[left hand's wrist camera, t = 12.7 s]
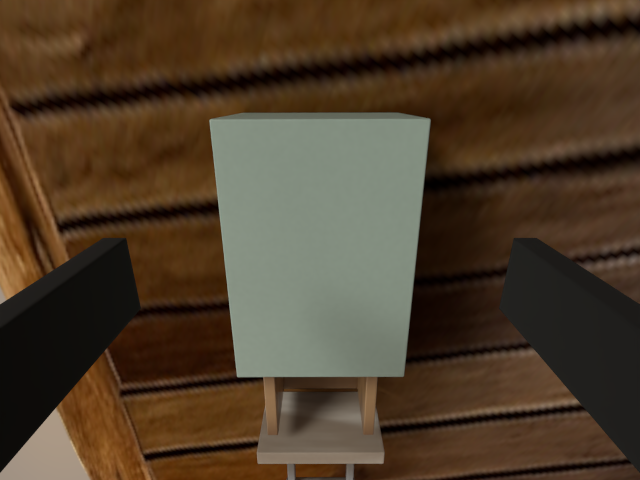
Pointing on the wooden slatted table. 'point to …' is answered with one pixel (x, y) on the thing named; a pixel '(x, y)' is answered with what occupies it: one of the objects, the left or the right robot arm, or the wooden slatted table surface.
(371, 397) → the drawer
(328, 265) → the cabinet
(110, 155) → the wooden slatted table surface
